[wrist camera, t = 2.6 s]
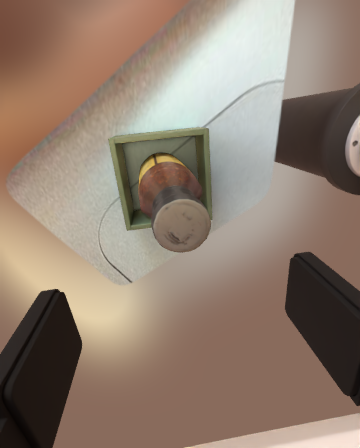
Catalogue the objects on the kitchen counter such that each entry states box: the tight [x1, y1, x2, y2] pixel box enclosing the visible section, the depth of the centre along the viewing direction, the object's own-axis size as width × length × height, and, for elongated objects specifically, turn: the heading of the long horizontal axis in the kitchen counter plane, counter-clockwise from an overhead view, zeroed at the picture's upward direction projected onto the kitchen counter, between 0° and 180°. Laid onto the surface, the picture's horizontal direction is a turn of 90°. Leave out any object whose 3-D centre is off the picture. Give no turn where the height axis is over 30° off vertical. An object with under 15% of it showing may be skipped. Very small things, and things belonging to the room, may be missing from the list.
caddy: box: [108, 127, 212, 231], centre depth 31 cm, size 11×11×6 cm
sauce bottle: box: [138, 153, 211, 252], centre depth 25 cm, size 6×6×20 cm
